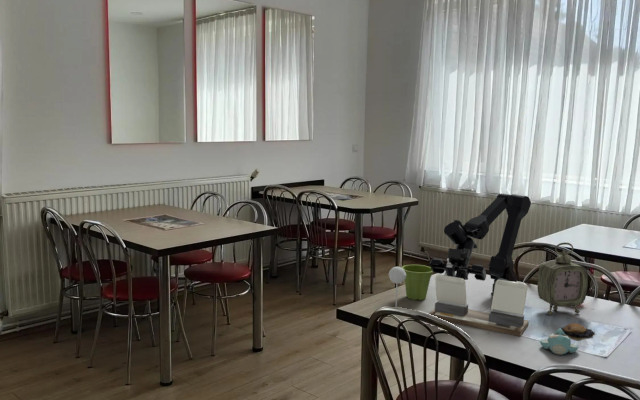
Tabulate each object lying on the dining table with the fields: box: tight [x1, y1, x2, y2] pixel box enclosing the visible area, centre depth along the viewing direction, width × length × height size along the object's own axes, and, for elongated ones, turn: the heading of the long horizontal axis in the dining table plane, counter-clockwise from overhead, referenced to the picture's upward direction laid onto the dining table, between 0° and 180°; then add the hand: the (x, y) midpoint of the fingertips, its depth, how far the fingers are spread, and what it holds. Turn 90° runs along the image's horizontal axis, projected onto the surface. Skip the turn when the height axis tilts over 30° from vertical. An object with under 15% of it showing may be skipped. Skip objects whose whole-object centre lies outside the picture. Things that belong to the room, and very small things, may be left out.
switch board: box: [428, 301, 529, 337], centre depth 193 cm, size 12×30×4 cm, turn 59°
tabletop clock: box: [537, 242, 589, 316], centre depth 202 cm, size 14×9×25 cm, turn 102°
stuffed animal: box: [539, 327, 580, 356], centre depth 170 cm, size 11×7×12 cm
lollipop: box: [388, 266, 406, 308], centre depth 204 cm, size 6×6×15 cm
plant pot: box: [401, 264, 434, 301], centre depth 217 cm, size 12×12×11 cm
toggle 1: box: [434, 274, 468, 306], centre depth 195 cm, size 2×10×10 cm, turn 59°
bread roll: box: [561, 322, 596, 341], centre depth 184 cm, size 11×8×4 cm
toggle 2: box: [490, 280, 528, 315], centre depth 189 cm, size 2×10×10 cm, turn 59°
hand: (451, 290), depth 196 cm, fingers closed, pressing on toggle 1
